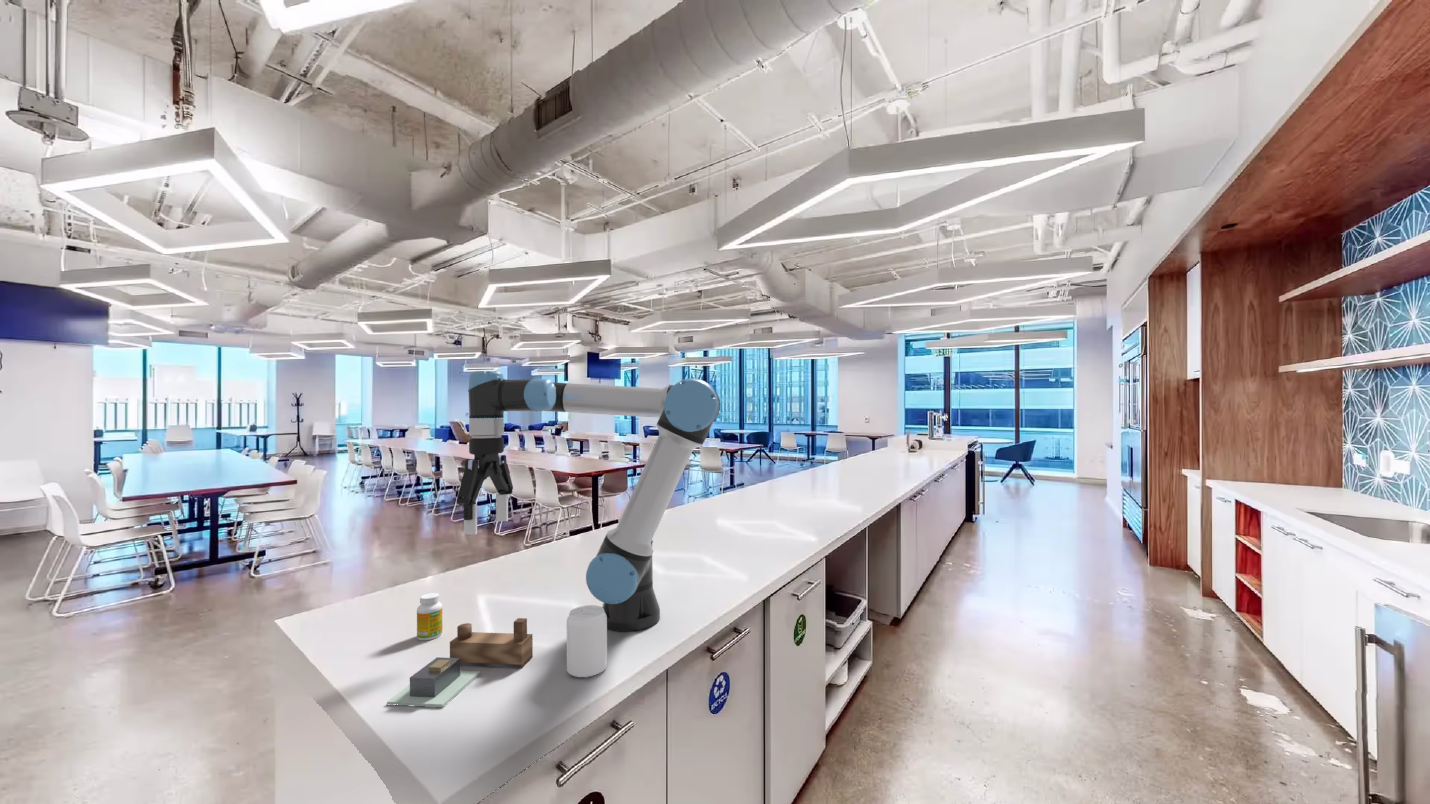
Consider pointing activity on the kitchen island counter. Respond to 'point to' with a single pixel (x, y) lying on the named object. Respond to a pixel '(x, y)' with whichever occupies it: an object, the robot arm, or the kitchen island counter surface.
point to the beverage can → (586, 641)
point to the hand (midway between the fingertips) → (487, 527)
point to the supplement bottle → (429, 617)
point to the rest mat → (441, 698)
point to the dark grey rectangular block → (434, 677)
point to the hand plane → (493, 647)
